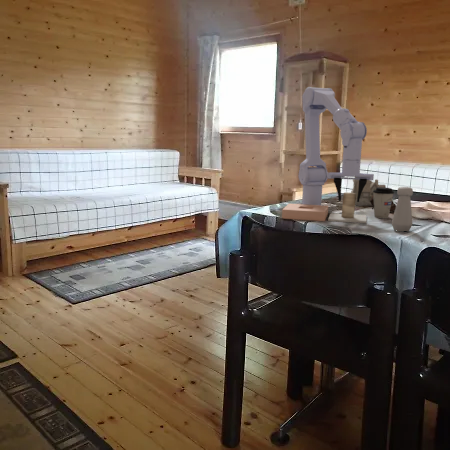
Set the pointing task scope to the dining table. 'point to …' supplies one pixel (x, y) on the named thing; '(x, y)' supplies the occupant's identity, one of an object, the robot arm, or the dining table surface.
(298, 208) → the square board with hole
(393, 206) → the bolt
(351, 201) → the plug
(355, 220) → the mat
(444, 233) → the dining table surface
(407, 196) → the salt shaker
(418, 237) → the dining table surface
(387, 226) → the dining table surface
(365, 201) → the ceramic cottage
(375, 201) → the coffee cup
